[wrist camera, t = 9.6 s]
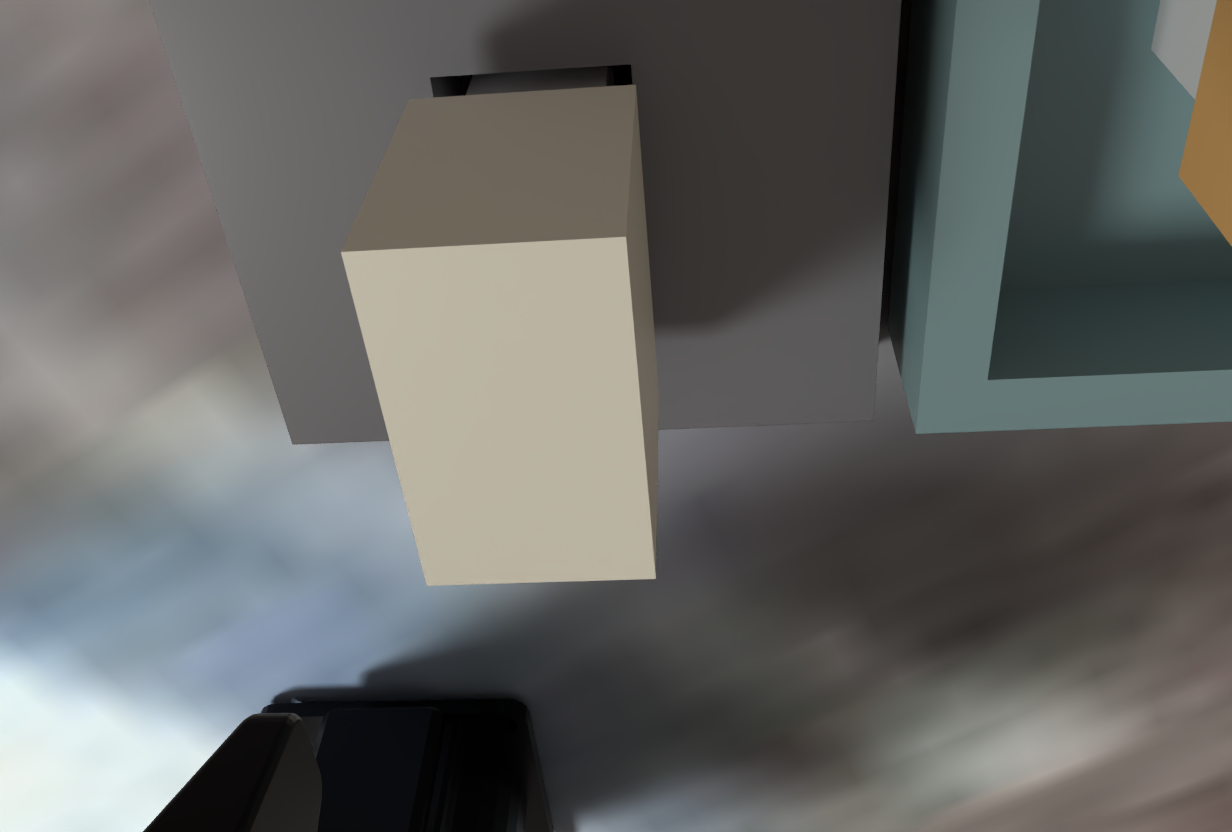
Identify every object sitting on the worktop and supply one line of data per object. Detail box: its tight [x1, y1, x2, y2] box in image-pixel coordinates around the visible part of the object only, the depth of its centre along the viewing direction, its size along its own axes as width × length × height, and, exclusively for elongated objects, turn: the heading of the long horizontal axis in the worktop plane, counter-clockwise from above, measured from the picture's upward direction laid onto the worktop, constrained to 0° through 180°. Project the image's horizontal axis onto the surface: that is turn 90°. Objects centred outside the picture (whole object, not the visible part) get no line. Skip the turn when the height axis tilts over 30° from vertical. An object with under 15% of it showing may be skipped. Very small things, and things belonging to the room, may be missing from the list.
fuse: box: [341, 65, 659, 586], centre depth 16 cm, size 5×3×7 cm, turn 5°
